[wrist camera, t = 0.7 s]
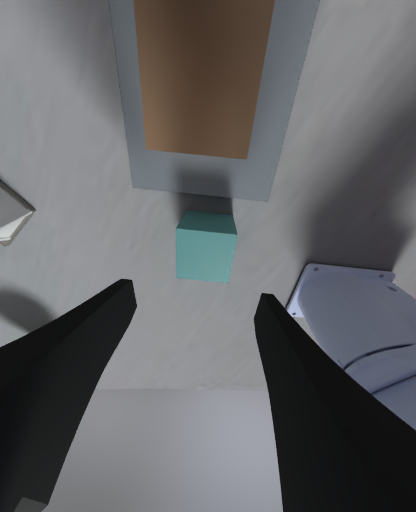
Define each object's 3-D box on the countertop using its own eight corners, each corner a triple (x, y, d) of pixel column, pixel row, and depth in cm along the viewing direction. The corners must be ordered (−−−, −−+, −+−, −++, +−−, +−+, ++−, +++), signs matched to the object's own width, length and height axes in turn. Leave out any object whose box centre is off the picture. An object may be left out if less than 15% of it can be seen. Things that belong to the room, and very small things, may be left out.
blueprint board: (320, -19, 10) (328, -33, 9) (265, 199, 16) (267, 201, 15) (110, -38, 10) (101, -53, 9) (136, 186, 16) (132, 187, 15)
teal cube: (232, 214, 17) (237, 234, 12) (226, 254, 19) (228, 283, 14) (187, 210, 17) (175, 228, 12) (186, 250, 19) (176, 277, 15)
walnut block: (257, 47, 10) (276, -10, 7) (240, 159, 13) (247, 159, 10) (160, 37, 10) (131, -23, 7) (164, 151, 13) (145, 149, 10)
